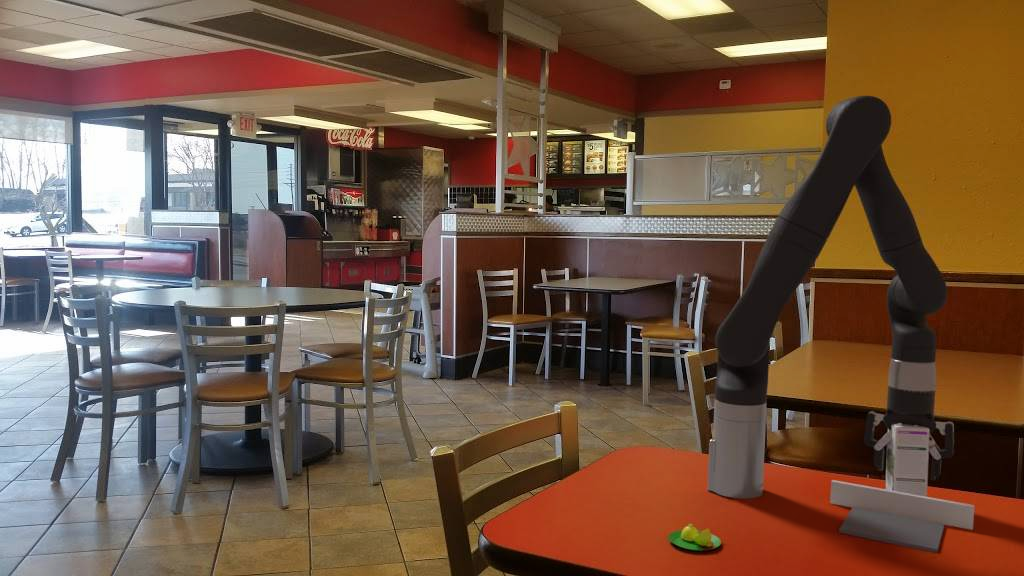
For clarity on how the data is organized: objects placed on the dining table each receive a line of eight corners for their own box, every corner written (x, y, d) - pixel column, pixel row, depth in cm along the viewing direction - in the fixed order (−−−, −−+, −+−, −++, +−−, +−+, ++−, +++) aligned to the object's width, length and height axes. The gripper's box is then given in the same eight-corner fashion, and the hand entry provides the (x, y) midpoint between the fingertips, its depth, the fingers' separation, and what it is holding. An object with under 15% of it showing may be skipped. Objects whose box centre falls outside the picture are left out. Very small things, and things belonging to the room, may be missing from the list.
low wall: (830, 503, 141) (831, 481, 141) (831, 501, 142) (832, 479, 142) (972, 530, 130) (974, 507, 129) (972, 529, 130) (974, 505, 130)
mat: (839, 532, 128) (839, 528, 128) (852, 510, 138) (852, 507, 138) (937, 553, 120) (937, 549, 120) (944, 528, 130) (944, 524, 130)
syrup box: (927, 509, 139) (932, 428, 138) (891, 506, 140) (895, 425, 139) (917, 498, 145) (922, 420, 144) (882, 495, 146) (887, 418, 145)
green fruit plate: (729, 542, 124) (730, 525, 124) (705, 558, 118) (706, 540, 118) (683, 529, 129) (684, 512, 129) (658, 543, 123) (659, 526, 123)
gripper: (864, 383, 142) (859, 472, 143) (955, 393, 134) (950, 487, 135) (871, 377, 148) (866, 462, 149) (959, 386, 140) (953, 476, 141)
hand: (906, 474), depth 142 cm, fingers open, 8 cm apart
